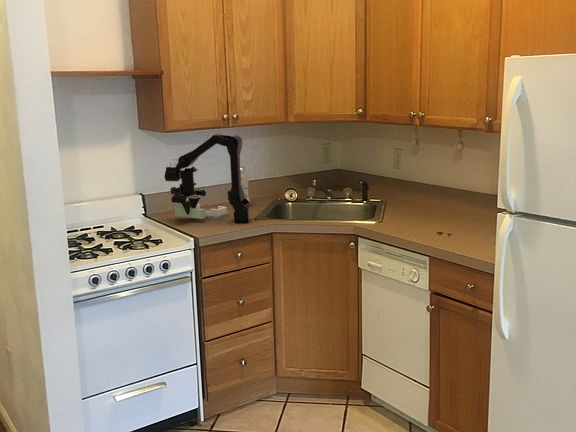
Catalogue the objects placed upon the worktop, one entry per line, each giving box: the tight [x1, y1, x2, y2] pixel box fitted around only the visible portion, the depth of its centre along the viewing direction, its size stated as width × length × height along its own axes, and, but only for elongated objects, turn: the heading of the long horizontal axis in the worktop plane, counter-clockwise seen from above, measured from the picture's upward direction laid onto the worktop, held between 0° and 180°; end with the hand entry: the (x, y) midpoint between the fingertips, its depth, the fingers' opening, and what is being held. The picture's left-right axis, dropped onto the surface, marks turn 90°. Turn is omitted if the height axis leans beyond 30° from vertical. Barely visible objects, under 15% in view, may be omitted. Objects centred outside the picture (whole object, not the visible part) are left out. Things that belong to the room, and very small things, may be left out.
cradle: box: [190, 203, 231, 221], centre depth 320 cm, size 22×10×4 cm, turn 58°
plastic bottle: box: [240, 166, 251, 203], centre depth 335 cm, size 6×7×20 cm
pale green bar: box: [174, 205, 206, 220], centre depth 311 cm, size 16×3×4 cm, turn 59°
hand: (190, 213), depth 311 cm, fingers closed on pale green bar, 3 cm apart
